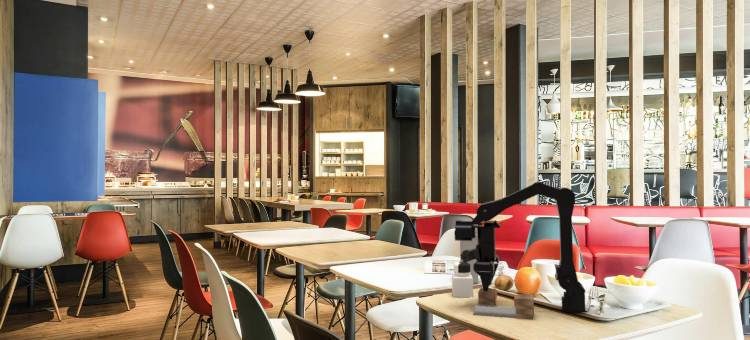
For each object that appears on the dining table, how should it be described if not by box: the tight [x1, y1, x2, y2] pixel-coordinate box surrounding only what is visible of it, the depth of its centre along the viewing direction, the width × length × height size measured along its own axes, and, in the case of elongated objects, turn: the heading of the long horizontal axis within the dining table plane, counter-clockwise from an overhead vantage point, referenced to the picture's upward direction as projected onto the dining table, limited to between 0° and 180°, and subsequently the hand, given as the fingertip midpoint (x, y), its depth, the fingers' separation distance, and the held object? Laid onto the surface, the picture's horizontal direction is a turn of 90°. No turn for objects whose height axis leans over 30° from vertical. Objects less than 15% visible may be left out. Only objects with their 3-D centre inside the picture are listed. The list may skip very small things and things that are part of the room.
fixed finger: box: [513, 293, 535, 321], centre depth 157 cm, size 5×6×6 cm
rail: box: [472, 303, 535, 321], centre depth 159 cm, size 18×6×3 cm, turn 70°
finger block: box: [477, 287, 498, 306], centre depth 169 cm, size 5×6×6 cm
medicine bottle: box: [451, 261, 474, 298], centre depth 188 cm, size 7×7×12 cm
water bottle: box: [459, 228, 479, 285], centre depth 209 cm, size 9×8×25 cm
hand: (487, 288), depth 169 cm, fingers open, 9 cm apart
